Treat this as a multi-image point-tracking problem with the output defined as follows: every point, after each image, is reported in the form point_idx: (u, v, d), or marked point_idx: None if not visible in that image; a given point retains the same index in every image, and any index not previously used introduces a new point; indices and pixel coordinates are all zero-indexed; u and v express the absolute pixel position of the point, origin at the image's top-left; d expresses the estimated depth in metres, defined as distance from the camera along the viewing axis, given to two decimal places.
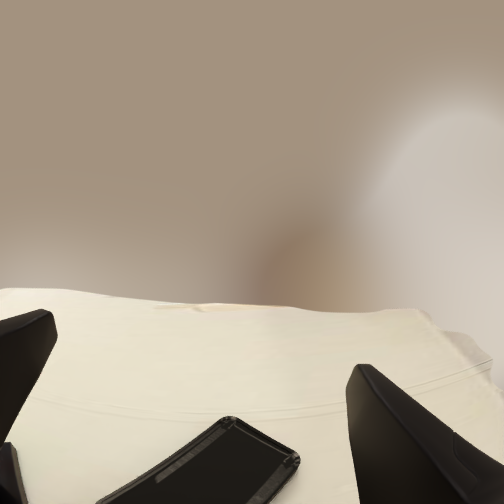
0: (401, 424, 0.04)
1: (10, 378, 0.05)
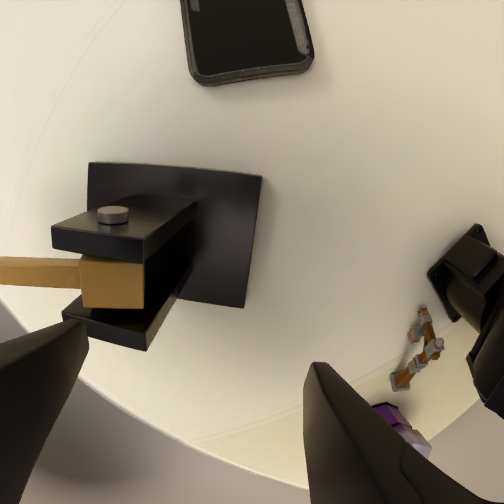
0: (344, 428, 0.04)
1: (43, 395, 0.05)
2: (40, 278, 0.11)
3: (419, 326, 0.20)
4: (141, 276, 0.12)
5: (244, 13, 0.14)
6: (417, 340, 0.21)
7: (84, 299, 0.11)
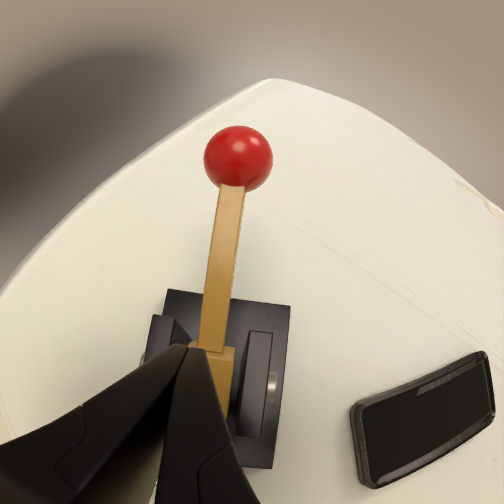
0: (169, 411, 0.04)
1: (161, 437, 0.05)
2: (213, 298, 0.12)
3: None
4: None
5: (413, 431, 0.17)
6: None
7: None
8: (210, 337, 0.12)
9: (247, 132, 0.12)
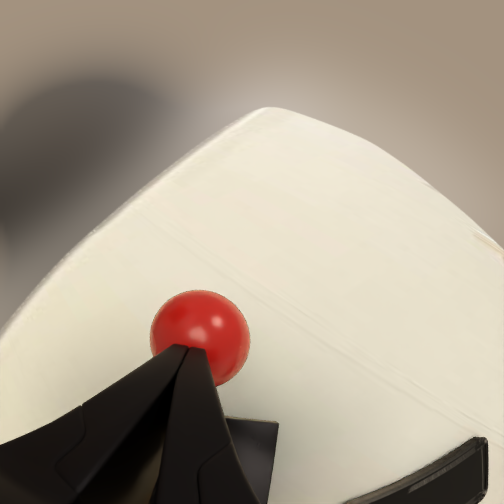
0: (169, 411, 0.04)
1: (161, 437, 0.05)
2: None
3: None
4: None
5: None
6: None
7: None
8: None
9: (207, 321, 0.08)
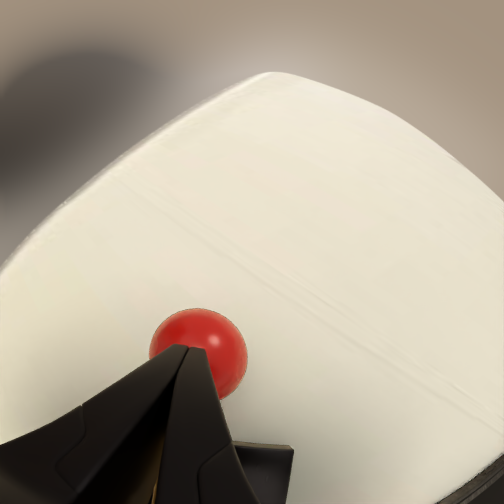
0: (169, 411, 0.04)
1: (161, 437, 0.05)
2: None
3: None
4: None
5: None
6: None
7: None
8: None
9: (210, 319, 0.09)
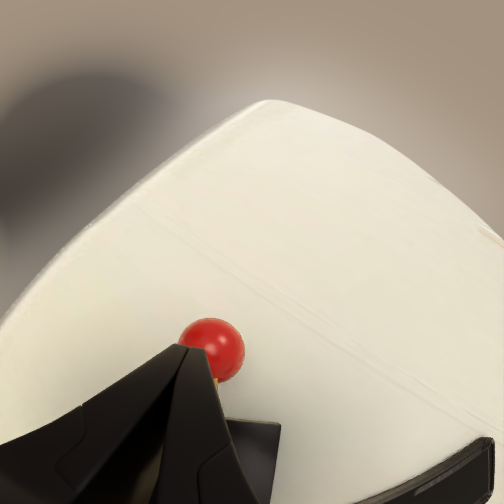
0: (169, 411, 0.04)
1: (161, 437, 0.05)
2: None
3: None
4: None
5: None
6: None
7: None
8: None
9: (220, 326, 0.13)
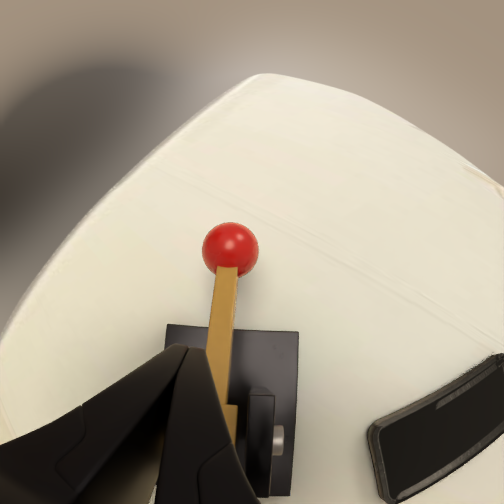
0: (169, 411, 0.04)
1: (161, 437, 0.05)
2: (215, 356, 0.12)
3: None
4: None
5: (432, 445, 0.15)
6: None
7: None
8: None
9: (236, 224, 0.16)
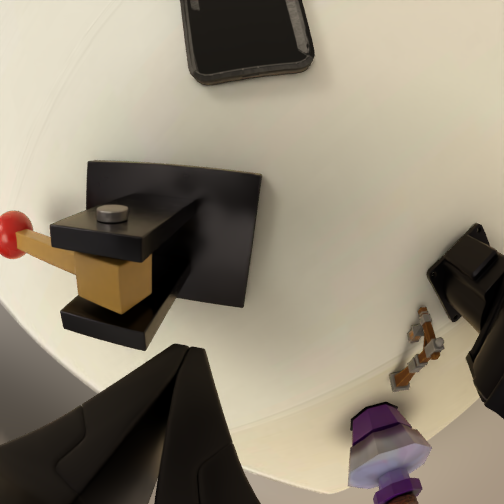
0: (169, 411, 0.04)
1: (161, 437, 0.05)
2: (58, 260, 0.13)
3: (419, 326, 0.20)
4: (118, 280, 0.11)
5: (245, 12, 0.14)
6: (417, 340, 0.21)
7: (78, 288, 0.12)
8: None
9: None
